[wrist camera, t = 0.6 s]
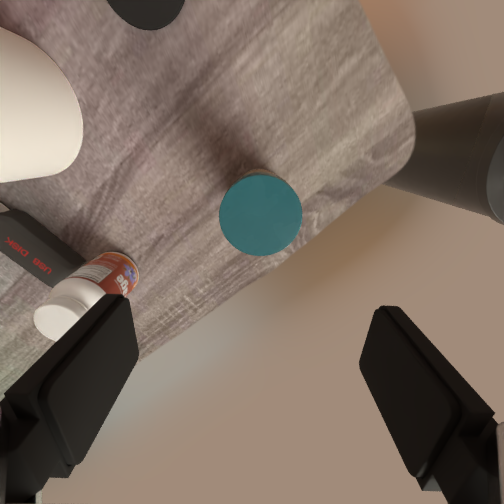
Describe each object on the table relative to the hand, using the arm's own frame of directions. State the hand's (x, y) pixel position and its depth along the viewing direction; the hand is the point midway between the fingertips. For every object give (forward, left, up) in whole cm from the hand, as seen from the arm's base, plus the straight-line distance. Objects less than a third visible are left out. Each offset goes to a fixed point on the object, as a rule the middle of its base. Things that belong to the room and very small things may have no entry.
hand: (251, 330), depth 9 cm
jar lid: (-1, -1, -12) cm, 12 cm away
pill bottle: (+18, +10, -22) cm, 30 cm away
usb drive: (+28, +6, -22) cm, 37 cm away
